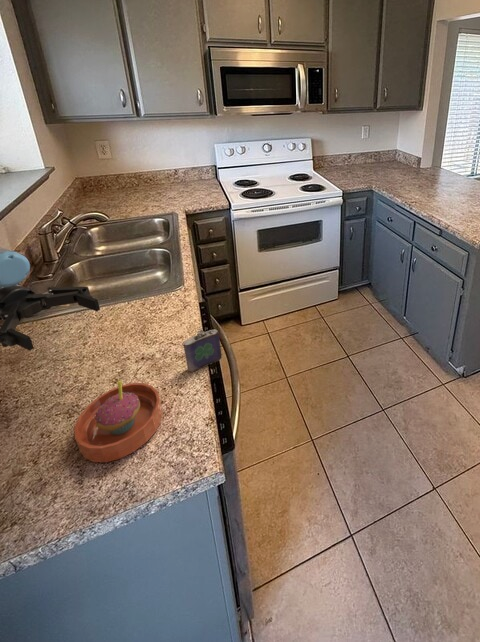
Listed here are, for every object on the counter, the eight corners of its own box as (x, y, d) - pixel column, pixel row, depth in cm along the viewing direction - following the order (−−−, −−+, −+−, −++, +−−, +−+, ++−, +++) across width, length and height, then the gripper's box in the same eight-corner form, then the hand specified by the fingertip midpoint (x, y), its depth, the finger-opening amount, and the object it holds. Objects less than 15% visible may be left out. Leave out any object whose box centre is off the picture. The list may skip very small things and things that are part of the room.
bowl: (67, 474, 70) (61, 458, 68) (93, 406, 84) (89, 392, 83) (156, 451, 74) (152, 435, 72) (166, 390, 89) (163, 376, 87)
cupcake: (127, 404, 84) (116, 363, 80) (152, 417, 81) (142, 376, 77) (91, 434, 77) (77, 391, 73) (116, 451, 73) (103, 407, 69)
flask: (189, 374, 93) (183, 340, 90) (186, 367, 96) (180, 334, 92) (223, 358, 98) (218, 326, 95) (219, 352, 101) (215, 321, 97)
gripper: (68, 287, 95) (123, 305, 87) (-56, 348, 73) (1, 380, 65) (60, 262, 92) (116, 278, 84) (-71, 317, 71) (-13, 346, 63)
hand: (66, 323), depth 75 cm, fingers open, 13 cm apart
